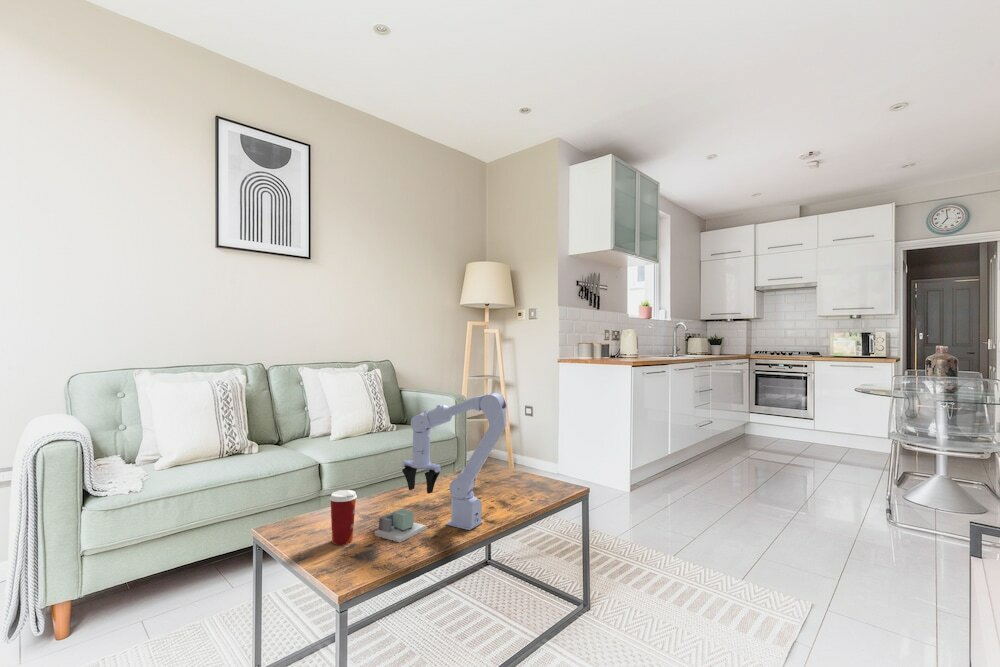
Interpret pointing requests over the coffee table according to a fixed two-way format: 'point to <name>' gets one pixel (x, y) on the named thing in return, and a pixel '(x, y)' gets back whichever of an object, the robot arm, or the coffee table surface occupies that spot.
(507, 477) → the coffee table surface
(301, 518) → the coffee table surface
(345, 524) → the paper cup
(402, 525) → the pale green block
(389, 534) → the dock
